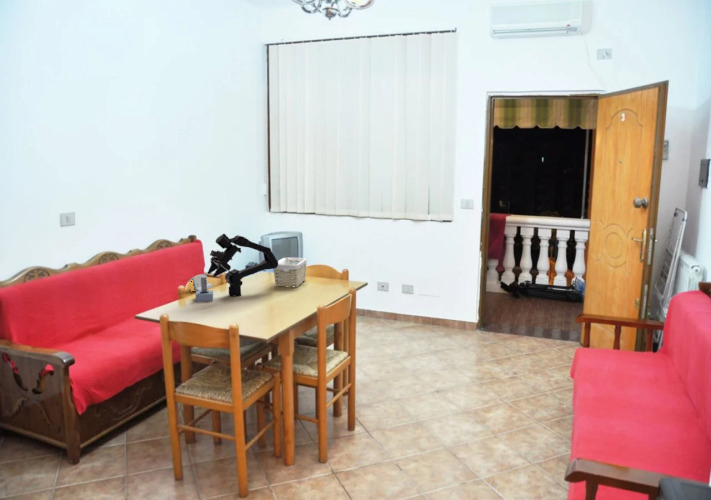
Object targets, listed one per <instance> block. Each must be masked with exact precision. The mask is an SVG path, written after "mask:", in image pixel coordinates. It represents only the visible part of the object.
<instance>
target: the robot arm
mask: <svg viewBox="0 0 711 500" xmlns="http://www.w3.org/2000/svg"><path fill="white" fill-rule="evenodd" d="M215 243H216V244H217V245H218V246H219V247H220V248H221V249H224V251H220V250H218V249H217V250H216V251H215V250H213V249H212V250H210V253H209V256H211V258H210V261H209V262H210V266H209V268H208V270H207V274H208V275H210V274H212V273H213V272H214V273H213V275H212V277H213V278H216V277H217V276H219V275H221V274H223V273H225V275H224V279H225V281H226V282H227V284H228V285H229V287H228V295H229V297H240V296H241V297H242V289H241V288H242V286H243V281H242V279H243V278H245V277H248V276H251V275H253V274H257V273H259V272H262V271H264V270H273V269H274V268H277V266H278V261H279V260H277V257H276V256H275V254H274V253H273V251H272V249H271V248H270V247H268V246H265V245H261V244H259V243H255V242H253V241H251V240H250V239H248V238H247V237H245V236H241V235H240V234H239V235H238V234H237V235H235V236H234V237H231V238H230V237H228V236H227V234H225V233H222V234H221V235H219V236H217V238H216V239H215ZM238 246H239V247H238ZM241 247H243V248H250V249H252V250H255V251H258V252H260V253H263V261H261V262H260V263H257V264H254V265H251V266H249V267H246V268H244V269H241V270H238V269H236V268H233V269H232V270H231V268H232V267H231V265H230V264H229V262H230V261H232V260H233V257H235V255H236V254H237V253H239V254H241V253H242V248H241Z"/></svg>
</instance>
